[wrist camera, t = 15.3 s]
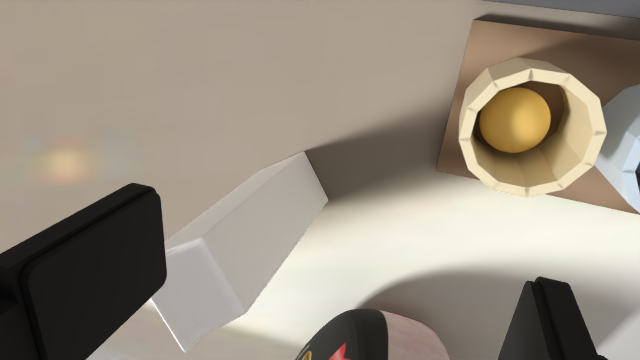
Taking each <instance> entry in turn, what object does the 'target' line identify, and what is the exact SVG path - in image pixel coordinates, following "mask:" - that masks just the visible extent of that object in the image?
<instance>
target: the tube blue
mask: <svg viewBox="0 0 640 360" xmlns="http://www.w3.org/2000/svg"><path fill="white" fill-rule="evenodd" d="M602 113H603V117H604V121H605V126H606V130H607V134H606V137H605V139H604V141H603V144H602V146H601V149H600V151H599V153H598V156H597V158H596V161H595V163H594V165H595V166H596V168H597V169H598V170H599V171H600V172H601V173H602V174H603V175H604V177H605V178H606V179H607V180H608V181H609V182H610V183H611V184H612V186H613V187H614V188H615V189H616V190H617V191H618V192H619V193H620V195H621V196H622V197H623V198H624V199H625V200H626V201H627V202H628V204H630V205H631V206H632V207H633V208H634V209H636V210H637V211H638V212H639V213H640V178H636V174H635V170H636V168H637V166H638V164H639V162H640V84H639V85H636V86H632V87H629V88H625V89H624V90H622V91H621V92H620V93H619V94H618V95H617V96H615V97H614V98H613V99H612V100H611V101H609V102H608V103H607V104H606V105H605V106H604V107H602Z"/></svg>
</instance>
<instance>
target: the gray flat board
mask: <svg viewBox="0 0 640 360" xmlns="http://www.w3.org/2000/svg"><path fill="white" fill-rule="evenodd" d="M484 1H493V2H502V3H510V4H519V5H528V6H536V7H545V8H554V9H562V10H571V11H579V12H588V13H597V14H605V15H614V16H623V17H631V18H640V0H484Z"/></svg>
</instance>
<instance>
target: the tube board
mask: <svg viewBox="0 0 640 360" xmlns="http://www.w3.org/2000/svg"><path fill="white" fill-rule="evenodd" d="M515 57H519V58H526V59H533V60H540V61H546V62H549V63H551V64H552V65H554V66H556V67H558V68H560V69H562V70H564V71H566V72H568V73H570V74H571V75H572V76H574V77H575V78H576V79H577V80H578V81H579V82H581V83H582V84H583V85H584V86H585V87H586V88H588V89H589V90H590V91H591V92H592V93H594V94H595V95H596V96H597V97H598V98H599V100H600V104H601V108H602V107H604V106H605V105H606V104H607V103H608V102H609V101H611V100H612V99H613V98H614V97H615V96H617V95H618V94H619V93H620V92H621V91H622V90H624V89H625V88H629V87H632V86H636V85H639V84H640V41H637V40H629V39H621V38H613V37H605V36H597V35H590V34H582V33H574V32H566V31H558V30H550V29H542V28H535V27H527V26H519V25H511V24H503V23H495V22H488V21H480V20H473V22H472V26H471V30H470V34H469V38H468V42H467V46H466V50H465V54H464V58H463V62H462V66H461V70H460V74H459V78H458V82H457V86H456V90H455V94H454V98H453V102H452V106H451V110H450V114H449V118H448V122H447V126H446V130H445V134H444V138H443V142H442V146H441V150H440V154H439V158H438V162H437V167H436V171H441V172H446V173H450V174H455V175H459V176H464V177H469V178H473V179H478V180H480V179H479V178H478V177H477V176H475V175H474V174H473V173H472V172H471V171H470V170H468V167H467V164H466V161H465V158H464V155H463V152H462V149H461V145H460V142H459V115H460V111H461V107H462V104H463V100H464V96H465V92H466V89H467V88H468V87H469V86H470V85H471V84H472V83H473V82H474V80H475V79H476V78H477V77H478V76H479V75H480V74H481V73H482V72H483V71H484V70H485V69H486V68H487V67H490V66H493V65H496V64H498V63H501V62H504V61H507V60H510V59H512V58H515ZM509 88H525V89H529V90H532V91H534V92H536V93H537V94H539V95H540V96H541V97H542V98H543V99H544V100H545V102H546V103H547V105H548V107H549V110H550V115H551V121H550V126H549V130H548V132H547V134H546V135H545V137H544V138H543V139H542V140H541V141H540V142H539V143H538V144H537V145H536V146H534V147H532V148H531V149H533V148H536V147H539V146H540V145H541V144H542V143H543V142H544V141H546V140H547V139H548V138H549V137H550V136H551V135H553V134H554V133H555V132H556V131H557V129H558V126H559V124H560V121H561V118H562V115H563V113H564V110H565V106H564V102H563V98H562V94H561V90H560V86H559V85H558V84H552V83H546V82H539V81H533V80H530V81H527V82H524V83H521V84H518V85H515V86H512V87H508V88H505V89H509ZM505 89H502V90H505ZM502 90H499V91H498V92H500V91H502ZM498 92H497V93H498ZM483 107H484V106H483ZM483 107H482V108H481V109H480V110H479V111H478V112H477V115H476V119H475V122H474V126H473V131H474V134H475V136H477V137H478V138H479V139H480V140H481V141H482V142H484V143H485V144H486V145H487V146H488V147H490V148H491V149H494V150H498V149H496V148H494V147H492V146H491V145H490V144H489V143H488V142H487V141H486V140H485V139H484V137H483V135H482V133H481V131H480V125H479V120H480V114H481V111H482V109H483ZM528 150H529V149H528ZM499 151H500V150H499ZM517 153H518V152H517ZM635 174H636V178H640V174H639V173H638V172H636V171H635ZM546 194H547V195H551V196H556V197H561V198H565V199H570V200H574V201H579V202H584V203H588V204H593V205H598V206H602V207H607V208H611V209H616V210H621V211H625V212H630V213H634V214H639V215H640V213H639V212H638V211H637V210H636V209H634V208H633V207H632V206H631V205H630V204H628V202H627V201H626V200H625V199H624V198H623V197H622V196H621V195H620V193H619V192H618V191H617V190H616V189H615V188H614V187H613V186H612V184H611V183H610V182H609V181H608V180H607V179H606V178H605V177H604V175H603V174H602V173H601V172H600V171H599V170H598V169H597V168H596V166H595V165H593V167H592V168H590V169H589V170H588V171H586V172H585V173H584V174H583V175H581V176H580V177H579V178H577V179H576V180H575V181H574V182H572V183H571V184H570V185H568V186H567V187H566V188H565V189H563V190H559V191H555V192H550V193H546Z"/></svg>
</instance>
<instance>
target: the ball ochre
mask: <svg viewBox="0 0 640 360" xmlns="http://www.w3.org/2000/svg"><path fill="white" fill-rule="evenodd" d="M550 121H551V115H550V110H549V107H548V105H547V103H546V102H545V100H544V99H543V98H542V97H541V96H540V95H539V94H537V93H536V92H534V91H532V90H529V89H525V88H509V89H505V90H502V91H500V92H498V93H496V94H495V95H494V96H493V97H492V98H491V99H490V100H489V101H488V102H487V103H486V104H485V105H484V107H483V109H482V111H481V114H480V120H479V125H480V131H481V133H482V135H483V137H484V139H485V140H486V141H487V142H488V143H489V144H490V145H491V146H492V147H494V148H496V149H498V150H500V151H503V152H508V153H517V152H523V151H526V150H528V149H531V148H532V147H534V146H536V145H537V144H538V143H539V142H540V141H541V140H542V139H543V138H544V137H545V135H546V134H547V132H548V130H549V126H550Z"/></svg>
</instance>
